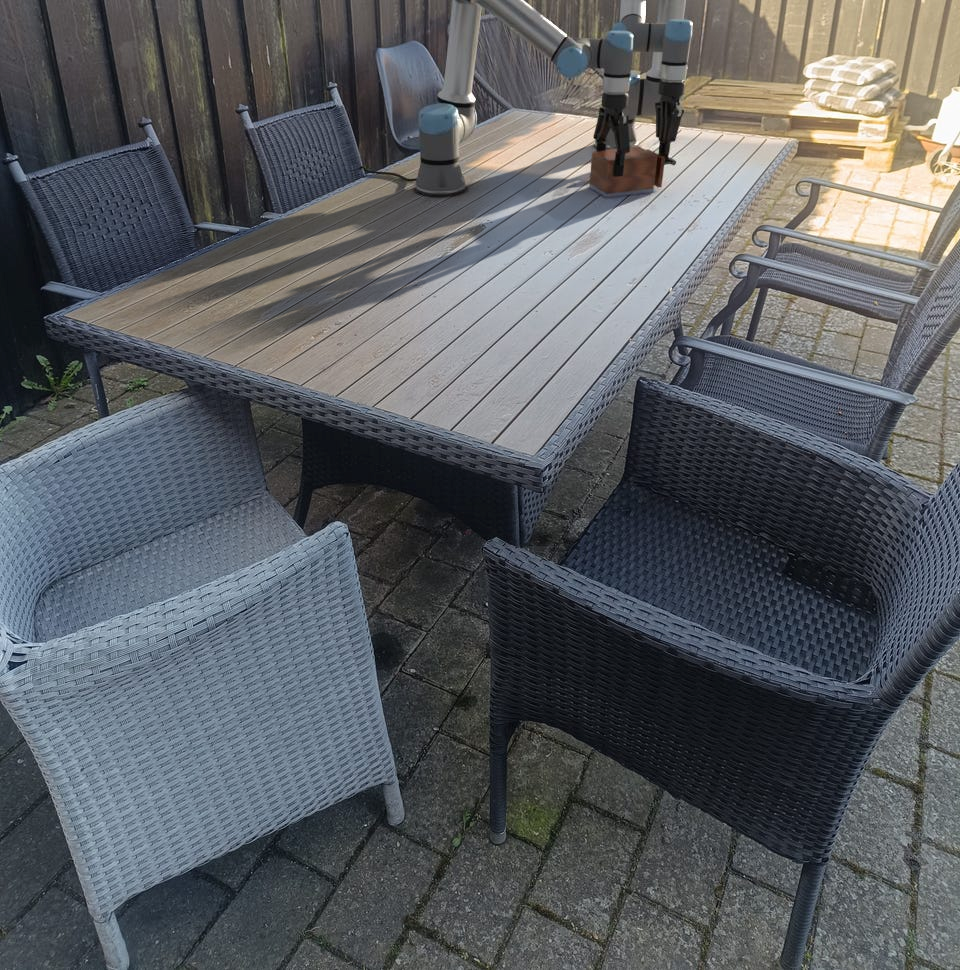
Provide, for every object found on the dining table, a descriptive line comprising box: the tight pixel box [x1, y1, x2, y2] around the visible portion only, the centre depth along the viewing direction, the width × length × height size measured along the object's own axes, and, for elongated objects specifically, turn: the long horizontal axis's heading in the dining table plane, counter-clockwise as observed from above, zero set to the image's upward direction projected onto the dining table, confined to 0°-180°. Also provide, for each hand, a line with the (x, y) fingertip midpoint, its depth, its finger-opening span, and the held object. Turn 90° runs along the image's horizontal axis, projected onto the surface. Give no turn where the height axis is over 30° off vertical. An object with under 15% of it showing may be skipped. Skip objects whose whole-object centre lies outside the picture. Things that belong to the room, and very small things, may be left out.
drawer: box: [646, 149, 677, 188], centre depth 257 cm, size 20×10×9 cm, turn 110°
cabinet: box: [588, 146, 657, 198], centre depth 256 cm, size 16×11×11 cm
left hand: (608, 170), depth 254 cm, fingers closed on cabinet, 11 cm apart
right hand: (662, 164), depth 259 cm, fingers closed
